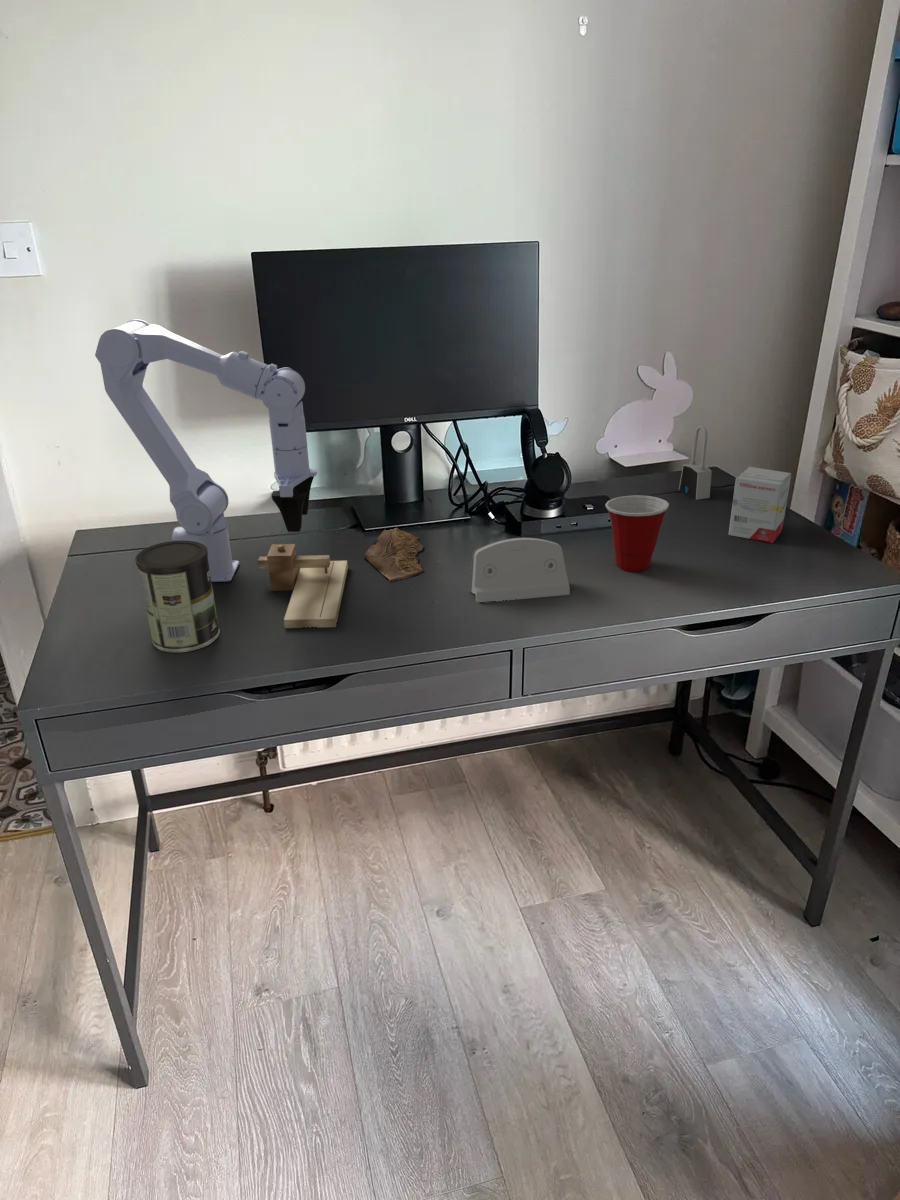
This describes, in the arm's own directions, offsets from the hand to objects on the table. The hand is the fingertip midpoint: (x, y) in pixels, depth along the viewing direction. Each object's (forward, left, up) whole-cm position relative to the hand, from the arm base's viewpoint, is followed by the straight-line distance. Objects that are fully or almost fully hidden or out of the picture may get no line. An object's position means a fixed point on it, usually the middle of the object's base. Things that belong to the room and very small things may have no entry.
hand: (297, 522), depth 149 cm
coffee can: (-15, -21, -10) cm, 28 cm away
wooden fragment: (+16, +10, -11) cm, 21 cm away
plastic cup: (+59, +2, -10) cm, 60 cm away
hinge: (+38, -7, -10) cm, 40 cm away
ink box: (+86, +16, -10) cm, 88 cm away
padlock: (+80, +38, -10) cm, 89 cm away
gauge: (-1, -4, -10) cm, 11 cm away
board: (+4, -8, -10) cm, 14 cm away
